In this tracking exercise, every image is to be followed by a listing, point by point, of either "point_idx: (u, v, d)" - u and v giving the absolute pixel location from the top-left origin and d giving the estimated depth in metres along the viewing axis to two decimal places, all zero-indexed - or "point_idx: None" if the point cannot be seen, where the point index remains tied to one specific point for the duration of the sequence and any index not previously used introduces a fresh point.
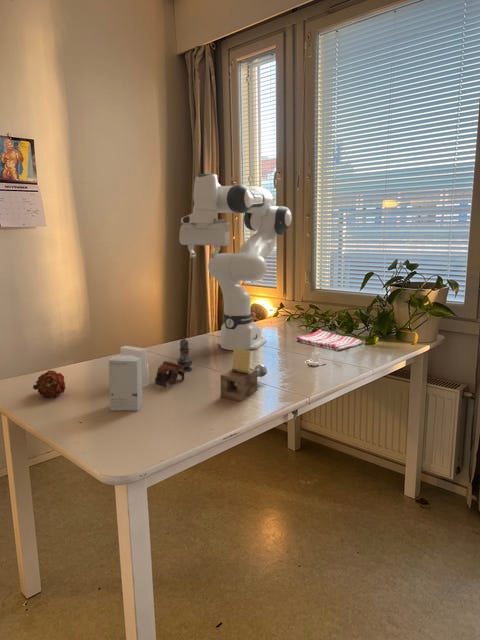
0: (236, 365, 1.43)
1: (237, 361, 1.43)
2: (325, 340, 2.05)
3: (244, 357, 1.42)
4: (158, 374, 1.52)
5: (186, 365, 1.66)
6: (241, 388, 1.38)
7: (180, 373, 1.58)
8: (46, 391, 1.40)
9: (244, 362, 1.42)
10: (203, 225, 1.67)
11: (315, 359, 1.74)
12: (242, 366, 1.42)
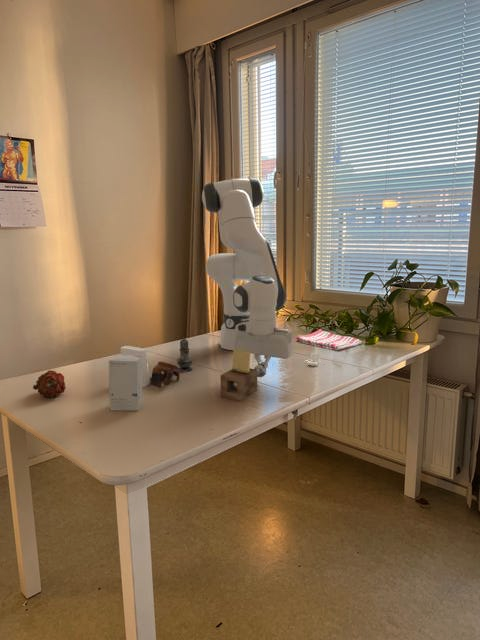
0: (236, 365, 1.43)
1: (237, 361, 1.43)
2: (325, 340, 2.05)
3: (244, 357, 1.42)
4: (153, 374, 1.52)
5: (186, 365, 1.66)
6: (241, 388, 1.38)
7: (175, 373, 1.58)
8: (46, 391, 1.40)
9: (244, 362, 1.42)
10: (262, 336, 1.49)
11: (314, 360, 1.74)
12: (242, 366, 1.42)
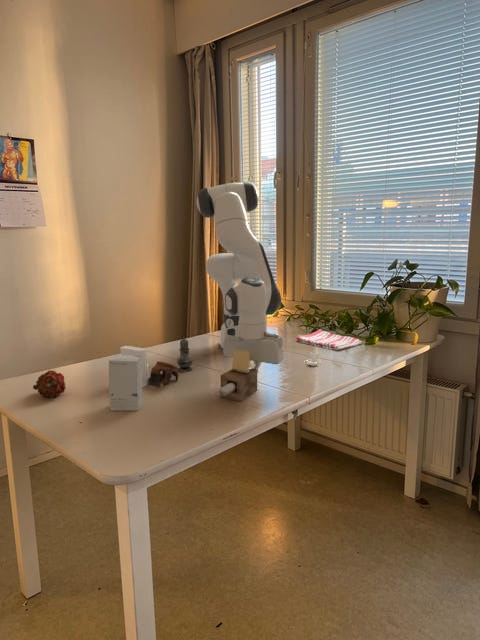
0: (236, 365, 1.43)
1: (237, 361, 1.43)
2: (325, 340, 2.05)
3: (244, 357, 1.42)
4: (152, 374, 1.52)
5: (186, 365, 1.66)
6: (241, 388, 1.38)
7: (174, 373, 1.58)
8: (46, 391, 1.40)
9: (244, 362, 1.42)
10: (252, 340, 1.44)
11: (314, 360, 1.74)
12: (242, 366, 1.42)
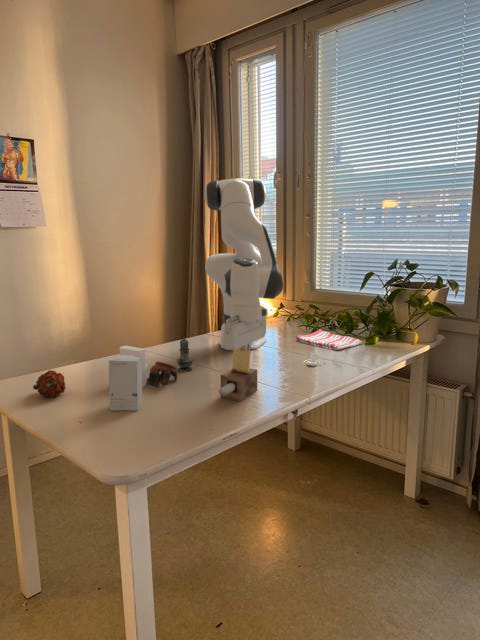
0: (236, 365, 1.43)
1: (237, 361, 1.43)
2: (325, 340, 2.05)
3: (244, 357, 1.42)
4: (151, 374, 1.52)
5: (186, 365, 1.66)
6: (241, 388, 1.38)
7: (173, 373, 1.58)
8: (46, 391, 1.40)
9: (244, 362, 1.42)
10: None
11: (313, 360, 1.74)
12: (242, 366, 1.42)
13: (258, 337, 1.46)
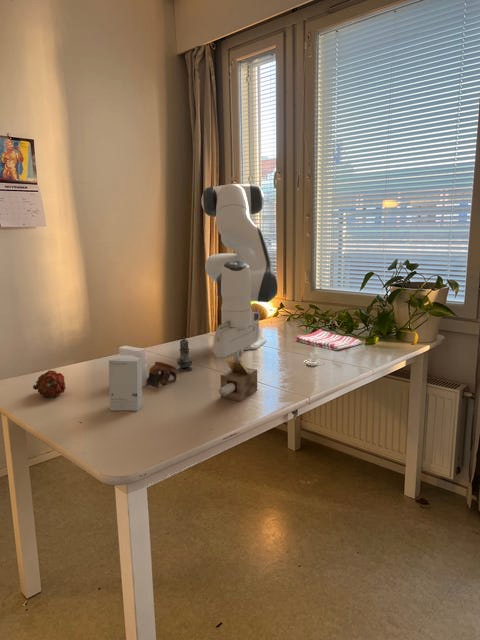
0: (234, 368, 1.42)
1: (233, 367, 1.41)
2: (324, 340, 2.05)
3: (238, 365, 1.39)
4: (150, 375, 1.52)
5: (186, 365, 1.66)
6: (241, 388, 1.38)
7: (172, 373, 1.58)
8: (46, 391, 1.40)
9: (240, 368, 1.40)
10: None
11: (313, 359, 1.74)
12: (240, 370, 1.41)
13: (251, 342, 1.42)
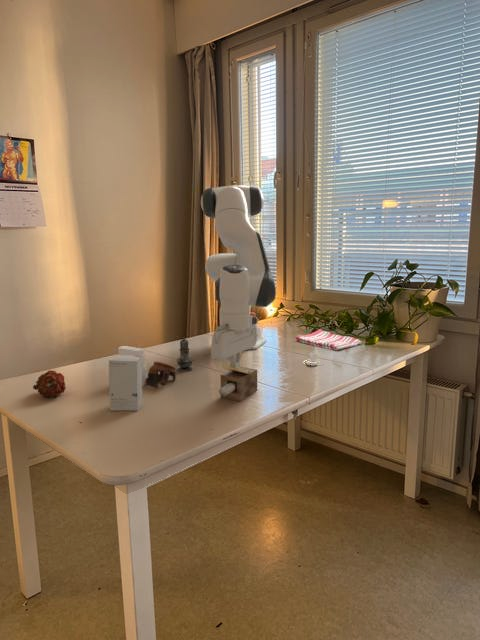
0: None
1: (232, 370, 1.41)
2: (324, 340, 2.05)
3: None
4: (149, 375, 1.52)
5: (186, 365, 1.66)
6: (241, 388, 1.38)
7: (171, 373, 1.58)
8: (46, 391, 1.40)
9: (239, 371, 1.40)
10: None
11: (313, 359, 1.74)
12: None
13: (248, 346, 1.42)
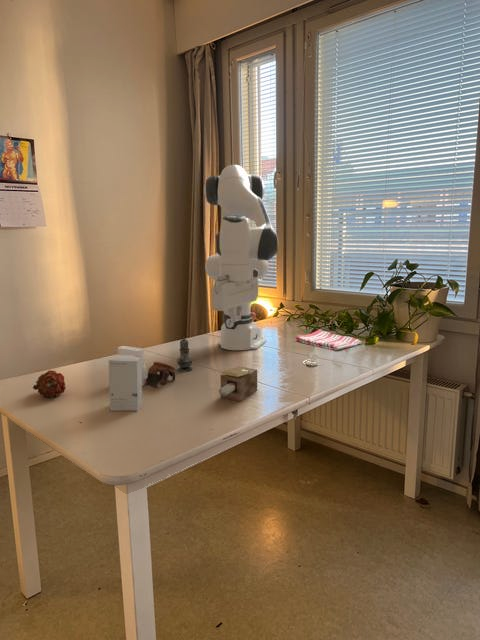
0: None
1: None
2: (324, 340, 2.05)
3: None
4: (149, 375, 1.51)
5: (186, 365, 1.66)
6: (241, 388, 1.38)
7: (171, 373, 1.58)
8: (46, 391, 1.40)
9: None
10: None
11: (313, 359, 1.74)
12: None
13: (249, 300, 1.40)
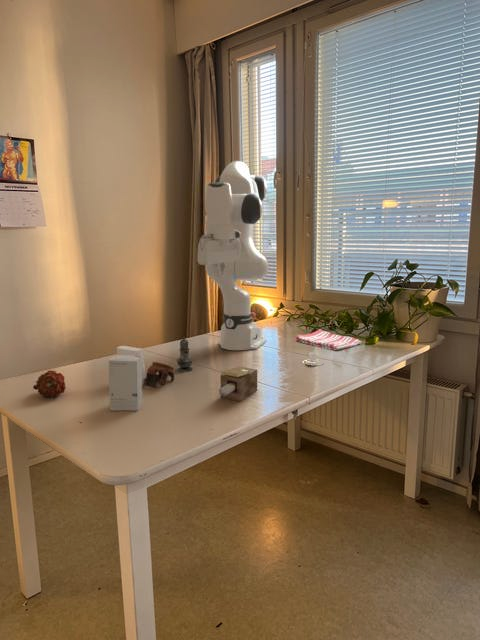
0: None
1: None
2: (324, 340, 2.05)
3: None
4: (148, 375, 1.51)
5: (186, 365, 1.66)
6: (241, 388, 1.38)
7: (169, 374, 1.58)
8: (46, 391, 1.40)
9: None
10: None
11: (312, 359, 1.74)
12: None
13: (232, 258, 1.57)
